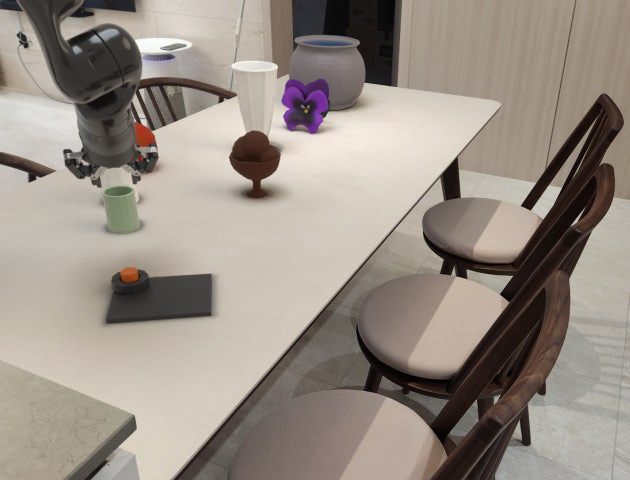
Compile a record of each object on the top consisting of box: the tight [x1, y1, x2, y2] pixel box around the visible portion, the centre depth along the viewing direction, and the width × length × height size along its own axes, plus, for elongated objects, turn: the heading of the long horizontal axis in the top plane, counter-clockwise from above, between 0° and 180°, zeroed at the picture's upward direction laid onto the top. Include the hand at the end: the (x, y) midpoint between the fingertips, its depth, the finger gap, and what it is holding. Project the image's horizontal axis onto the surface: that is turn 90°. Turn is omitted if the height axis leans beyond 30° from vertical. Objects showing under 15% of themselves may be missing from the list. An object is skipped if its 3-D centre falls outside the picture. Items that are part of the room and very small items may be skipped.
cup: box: [230, 60, 281, 153], centre depth 160 cm, size 12×12×22 cm
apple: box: [135, 122, 158, 161], centre depth 148 cm, size 10×10×12 cm
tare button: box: [119, 266, 139, 283], centre depth 101 cm, size 3×3×2 cm
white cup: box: [100, 168, 140, 204], centre depth 130 cm, size 8×8×10 cm
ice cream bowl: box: [228, 130, 282, 199], centre depth 135 cm, size 11×11×15 cm
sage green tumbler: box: [101, 186, 141, 234], centre depth 120 cm, size 6×6×8 cm
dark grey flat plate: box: [105, 268, 213, 325], centre depth 100 cm, size 15×12×3 cm
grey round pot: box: [288, 34, 366, 111], centre depth 205 cm, size 25×25×20 cm
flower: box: [280, 79, 330, 135], centre depth 185 cm, size 15×15×14 cm
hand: (116, 180), depth 106 cm, fingers open, 5 cm apart
